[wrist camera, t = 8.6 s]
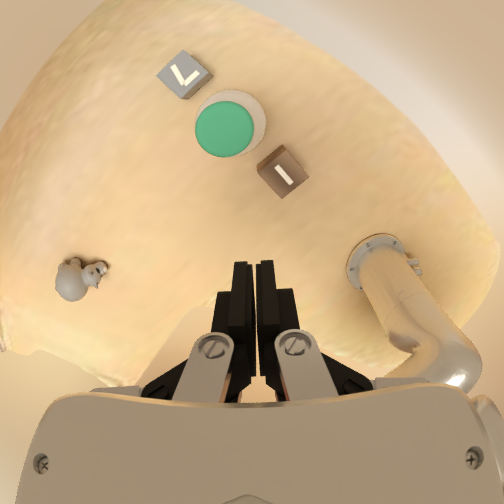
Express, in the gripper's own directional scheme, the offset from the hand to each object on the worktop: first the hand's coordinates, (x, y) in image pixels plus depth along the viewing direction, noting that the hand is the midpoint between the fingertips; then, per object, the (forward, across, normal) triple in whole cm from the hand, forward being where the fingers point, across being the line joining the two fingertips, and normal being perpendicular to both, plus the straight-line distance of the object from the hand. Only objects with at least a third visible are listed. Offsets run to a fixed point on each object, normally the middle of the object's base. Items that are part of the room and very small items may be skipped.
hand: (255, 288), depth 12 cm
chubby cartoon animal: (+31, +35, +17) cm, 50 cm away
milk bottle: (+32, +2, -6) cm, 32 cm away
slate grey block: (+31, +9, -14) cm, 35 cm away
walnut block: (+32, -4, +1) cm, 32 cm away
